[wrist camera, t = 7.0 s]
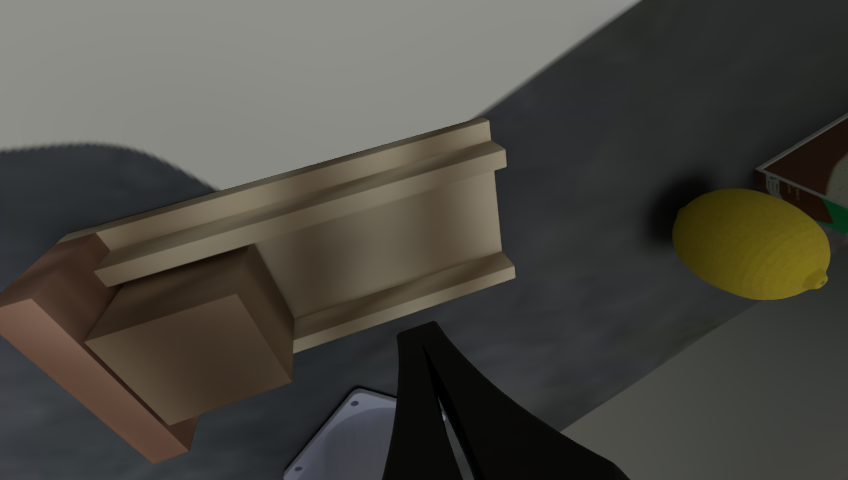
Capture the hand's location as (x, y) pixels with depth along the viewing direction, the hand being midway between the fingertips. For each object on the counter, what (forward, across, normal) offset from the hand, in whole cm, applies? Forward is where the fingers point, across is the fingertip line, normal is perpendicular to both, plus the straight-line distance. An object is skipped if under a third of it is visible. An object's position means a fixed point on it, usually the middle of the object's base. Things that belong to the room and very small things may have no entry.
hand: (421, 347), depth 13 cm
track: (+8, +3, 0) cm, 8 cm away
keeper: (+7, +8, 0) cm, 10 cm away
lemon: (+8, -19, +5) cm, 21 cm away
